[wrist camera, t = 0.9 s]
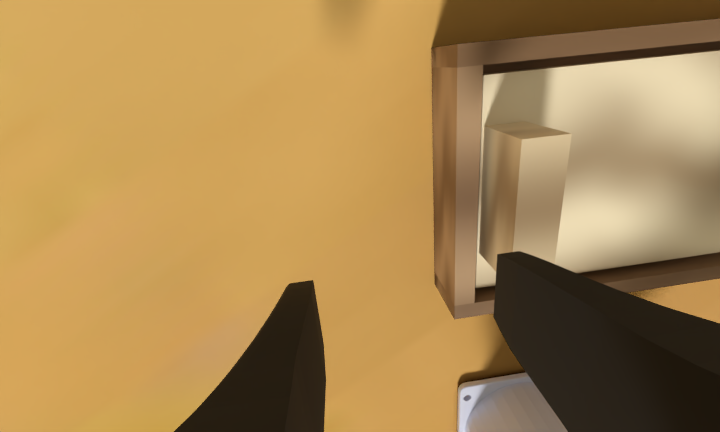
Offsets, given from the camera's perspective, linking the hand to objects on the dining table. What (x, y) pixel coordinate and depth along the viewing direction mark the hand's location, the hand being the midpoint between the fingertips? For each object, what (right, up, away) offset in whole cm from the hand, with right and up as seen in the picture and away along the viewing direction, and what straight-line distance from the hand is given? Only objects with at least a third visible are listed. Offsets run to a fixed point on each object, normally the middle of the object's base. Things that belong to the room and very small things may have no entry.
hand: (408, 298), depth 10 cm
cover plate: (+11, +4, +8) cm, 15 cm away
